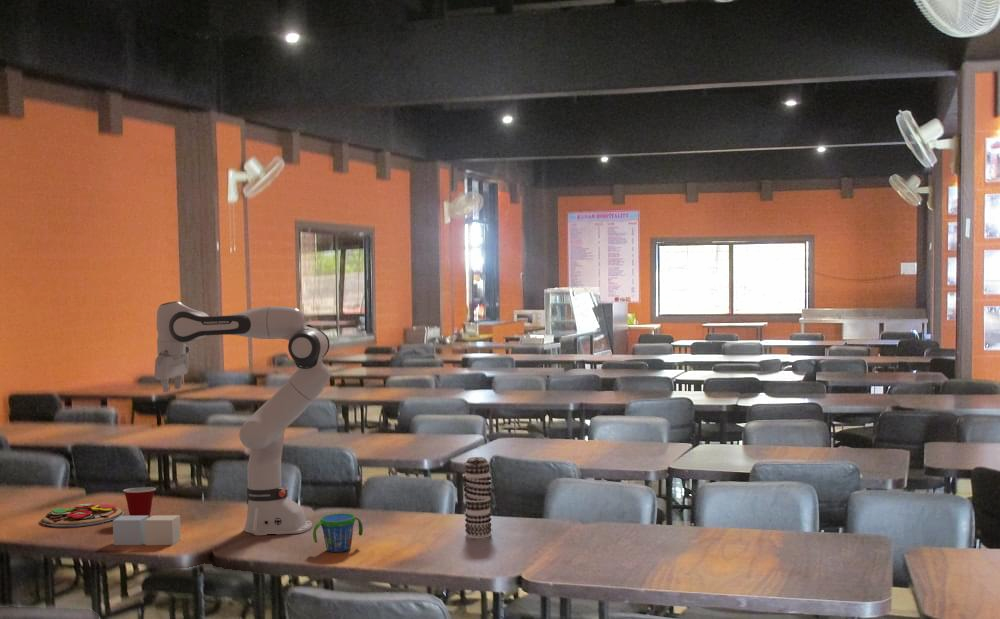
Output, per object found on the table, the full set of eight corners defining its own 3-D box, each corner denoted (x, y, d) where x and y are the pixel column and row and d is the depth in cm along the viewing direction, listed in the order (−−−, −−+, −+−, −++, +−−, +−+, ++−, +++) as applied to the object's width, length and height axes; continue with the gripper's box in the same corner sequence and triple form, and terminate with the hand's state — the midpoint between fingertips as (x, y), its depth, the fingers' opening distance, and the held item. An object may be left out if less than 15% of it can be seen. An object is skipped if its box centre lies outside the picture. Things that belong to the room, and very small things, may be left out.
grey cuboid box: (180, 539, 319) (179, 515, 318) (172, 545, 312) (172, 520, 312) (153, 539, 319) (153, 515, 319) (145, 545, 313) (144, 520, 313)
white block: (149, 539, 319) (148, 515, 319) (140, 545, 313) (140, 520, 313) (122, 539, 320) (121, 515, 320) (113, 545, 314) (112, 520, 313)
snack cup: (317, 557, 295) (316, 523, 295) (309, 548, 305) (308, 516, 304) (367, 550, 301) (367, 517, 301) (358, 542, 311) (357, 510, 311)
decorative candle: (474, 540, 311) (472, 462, 310) (459, 534, 318) (457, 457, 318) (498, 535, 316) (496, 458, 315) (482, 529, 323) (481, 454, 323)
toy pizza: (78, 532, 333) (78, 519, 333) (22, 525, 345) (22, 512, 345) (140, 514, 358) (140, 502, 358) (86, 508, 370) (86, 496, 370)
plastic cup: (162, 518, 349) (161, 484, 348) (148, 525, 338) (147, 491, 338) (133, 518, 350) (132, 484, 350) (118, 525, 339) (117, 491, 339)
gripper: (167, 351, 320) (168, 393, 321) (191, 347, 341) (192, 387, 341) (148, 352, 321) (150, 394, 321) (173, 347, 341) (175, 387, 341)
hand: (172, 390), depth 331 cm, fingers open, 8 cm apart
